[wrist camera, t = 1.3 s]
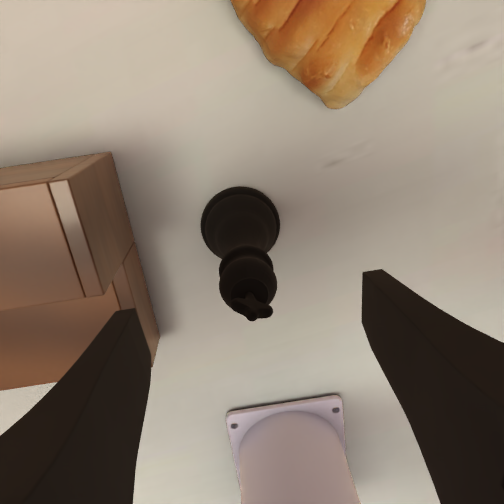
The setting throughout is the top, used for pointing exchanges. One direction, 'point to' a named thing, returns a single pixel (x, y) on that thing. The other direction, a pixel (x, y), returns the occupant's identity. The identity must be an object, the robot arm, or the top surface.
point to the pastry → (331, 40)
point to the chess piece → (243, 248)
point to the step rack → (64, 266)
